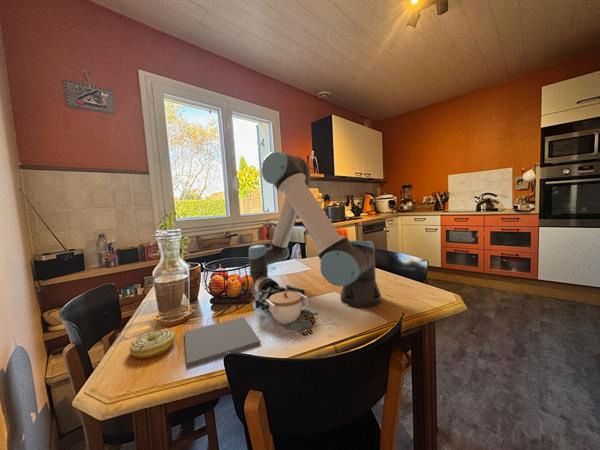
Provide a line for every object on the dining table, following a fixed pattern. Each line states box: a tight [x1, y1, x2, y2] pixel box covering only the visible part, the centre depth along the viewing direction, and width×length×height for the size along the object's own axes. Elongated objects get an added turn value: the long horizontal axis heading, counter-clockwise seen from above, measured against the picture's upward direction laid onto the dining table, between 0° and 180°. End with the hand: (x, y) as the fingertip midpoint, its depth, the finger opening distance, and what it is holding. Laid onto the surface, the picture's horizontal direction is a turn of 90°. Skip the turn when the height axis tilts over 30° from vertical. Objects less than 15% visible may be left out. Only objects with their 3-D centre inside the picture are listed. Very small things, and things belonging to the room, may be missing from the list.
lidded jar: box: [269, 291, 303, 325], centre depth 79 cm, size 11×11×9 cm
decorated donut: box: [129, 329, 176, 359], centre depth 66 cm, size 10×11×4 cm
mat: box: [183, 316, 261, 368], centre depth 69 cm, size 18×18×1 cm
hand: (291, 305), depth 75 cm, fingers closed on lidded jar, 11 cm apart
